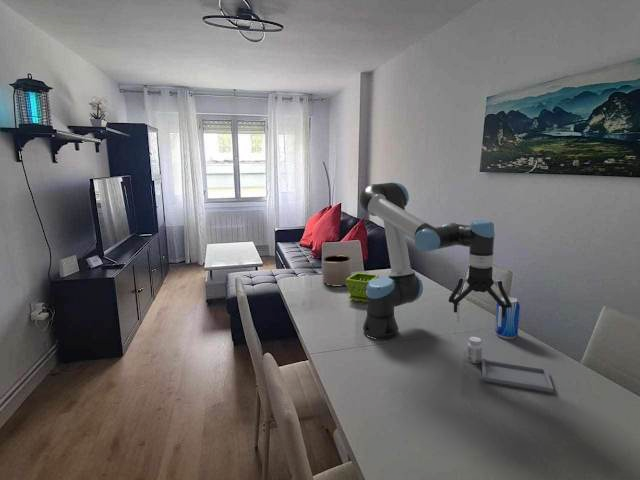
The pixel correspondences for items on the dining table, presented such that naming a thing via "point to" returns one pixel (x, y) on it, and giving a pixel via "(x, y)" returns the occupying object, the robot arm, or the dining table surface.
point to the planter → (336, 269)
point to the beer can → (508, 320)
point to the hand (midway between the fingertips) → (478, 323)
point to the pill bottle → (474, 350)
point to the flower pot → (359, 286)
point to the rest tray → (516, 376)
